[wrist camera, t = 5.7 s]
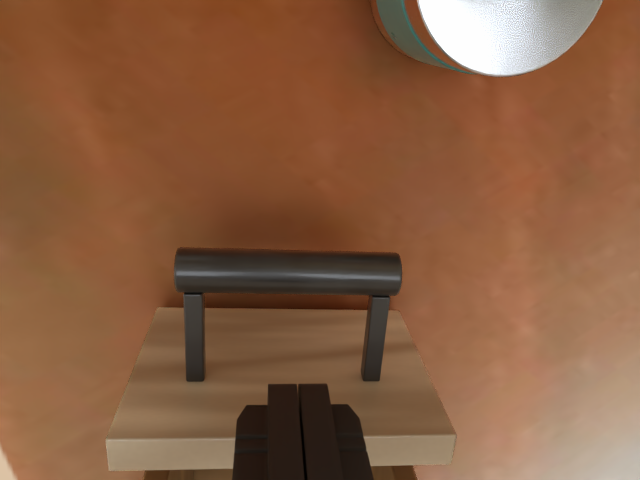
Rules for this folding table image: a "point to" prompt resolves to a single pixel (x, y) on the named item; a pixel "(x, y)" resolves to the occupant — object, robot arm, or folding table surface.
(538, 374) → the folding table surface
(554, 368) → the folding table surface
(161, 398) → the drawer
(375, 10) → the tin can
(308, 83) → the folding table surface
